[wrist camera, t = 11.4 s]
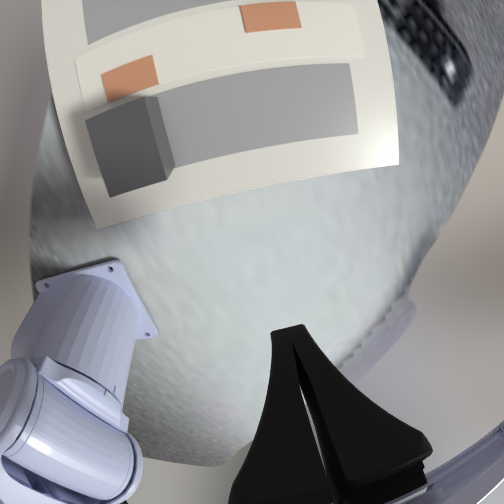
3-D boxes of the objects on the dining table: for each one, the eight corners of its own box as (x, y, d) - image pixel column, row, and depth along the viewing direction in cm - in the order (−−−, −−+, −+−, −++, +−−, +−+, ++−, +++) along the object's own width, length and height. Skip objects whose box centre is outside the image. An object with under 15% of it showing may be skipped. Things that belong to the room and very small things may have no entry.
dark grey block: (126, 180, 14) (109, 198, 12) (106, 115, 12) (84, 120, 10) (175, 165, 14) (167, 180, 12) (157, 96, 12) (144, 96, 10)
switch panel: (104, 220, 17) (96, 231, 16) (51, -5, 8) (39, -11, 6) (387, 158, 17) (400, 165, 16) (342, -63, 8) (351, -72, 6)
